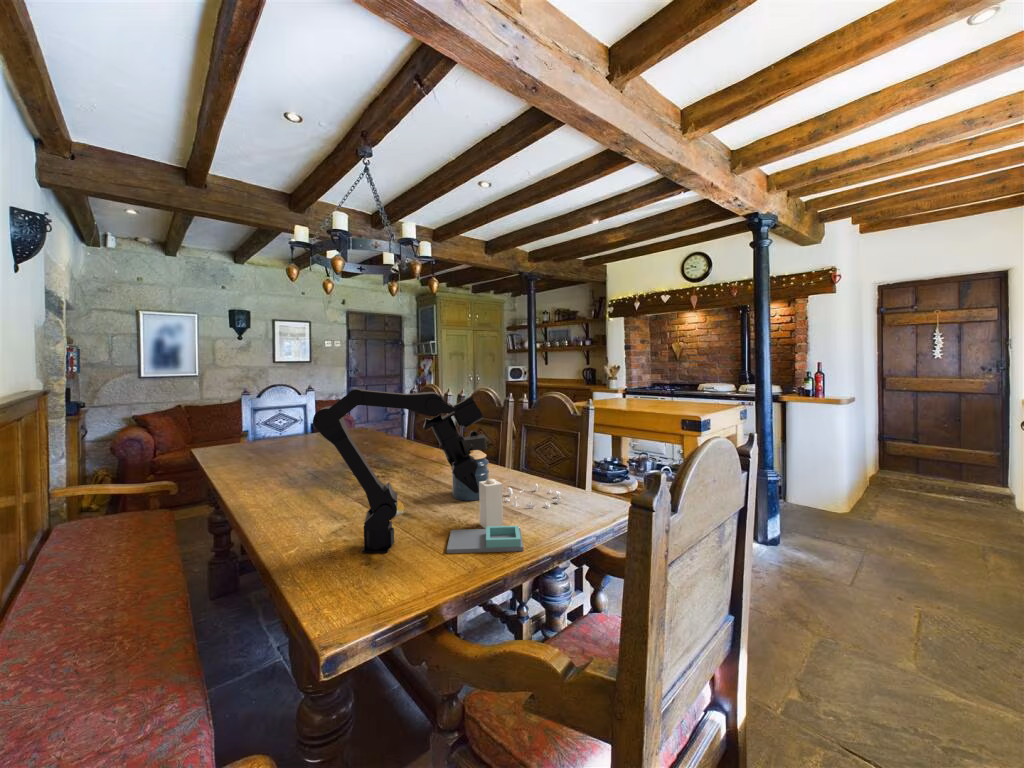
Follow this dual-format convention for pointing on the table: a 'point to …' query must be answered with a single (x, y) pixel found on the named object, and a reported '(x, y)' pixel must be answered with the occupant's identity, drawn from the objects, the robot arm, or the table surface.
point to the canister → (481, 474)
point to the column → (490, 503)
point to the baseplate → (485, 540)
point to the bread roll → (399, 508)
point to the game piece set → (534, 500)
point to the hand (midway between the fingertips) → (474, 487)
